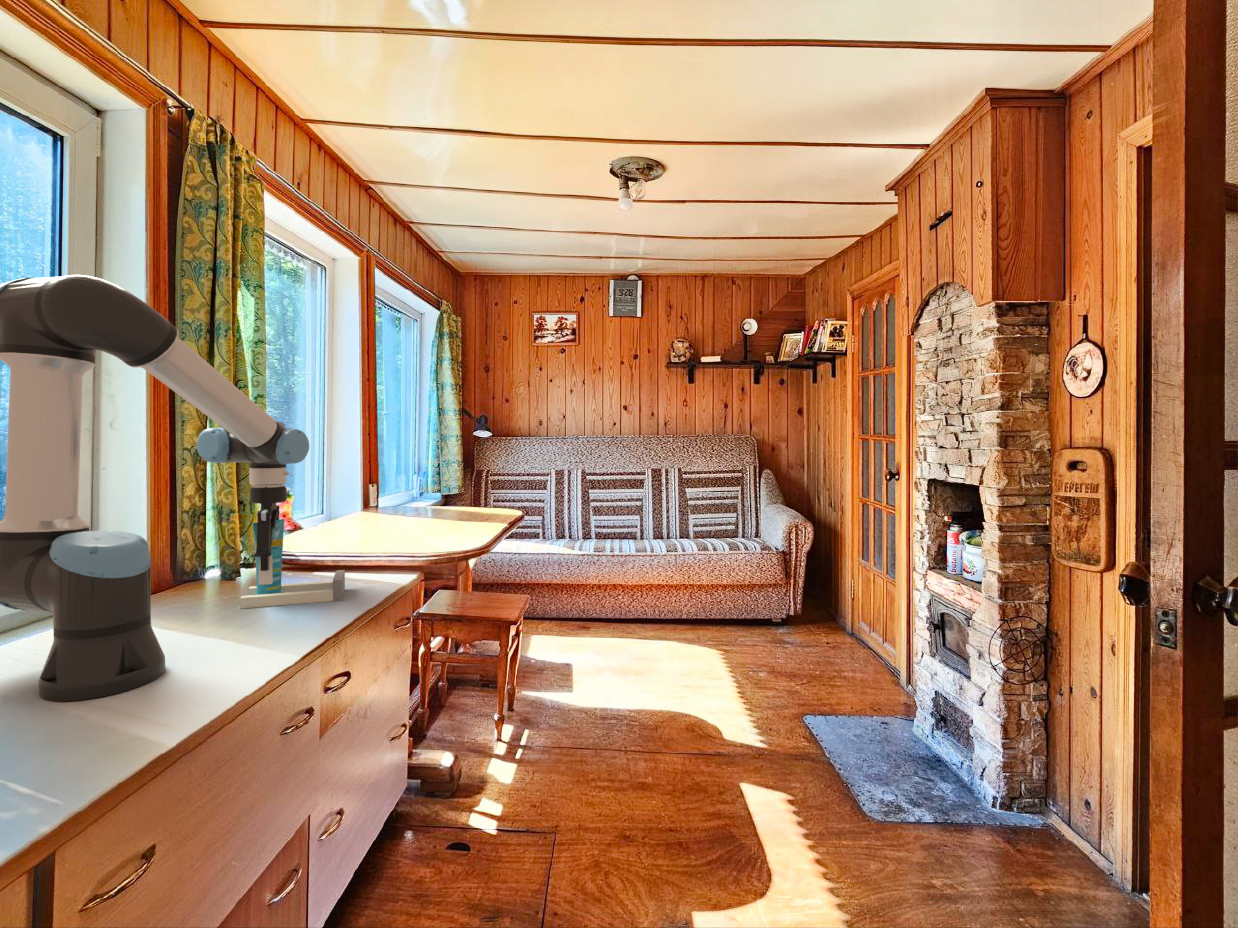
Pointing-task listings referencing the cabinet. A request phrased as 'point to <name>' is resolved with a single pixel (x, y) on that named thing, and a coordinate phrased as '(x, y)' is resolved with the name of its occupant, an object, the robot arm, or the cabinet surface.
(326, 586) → the track
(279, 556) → the tube
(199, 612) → the cabinet surface
